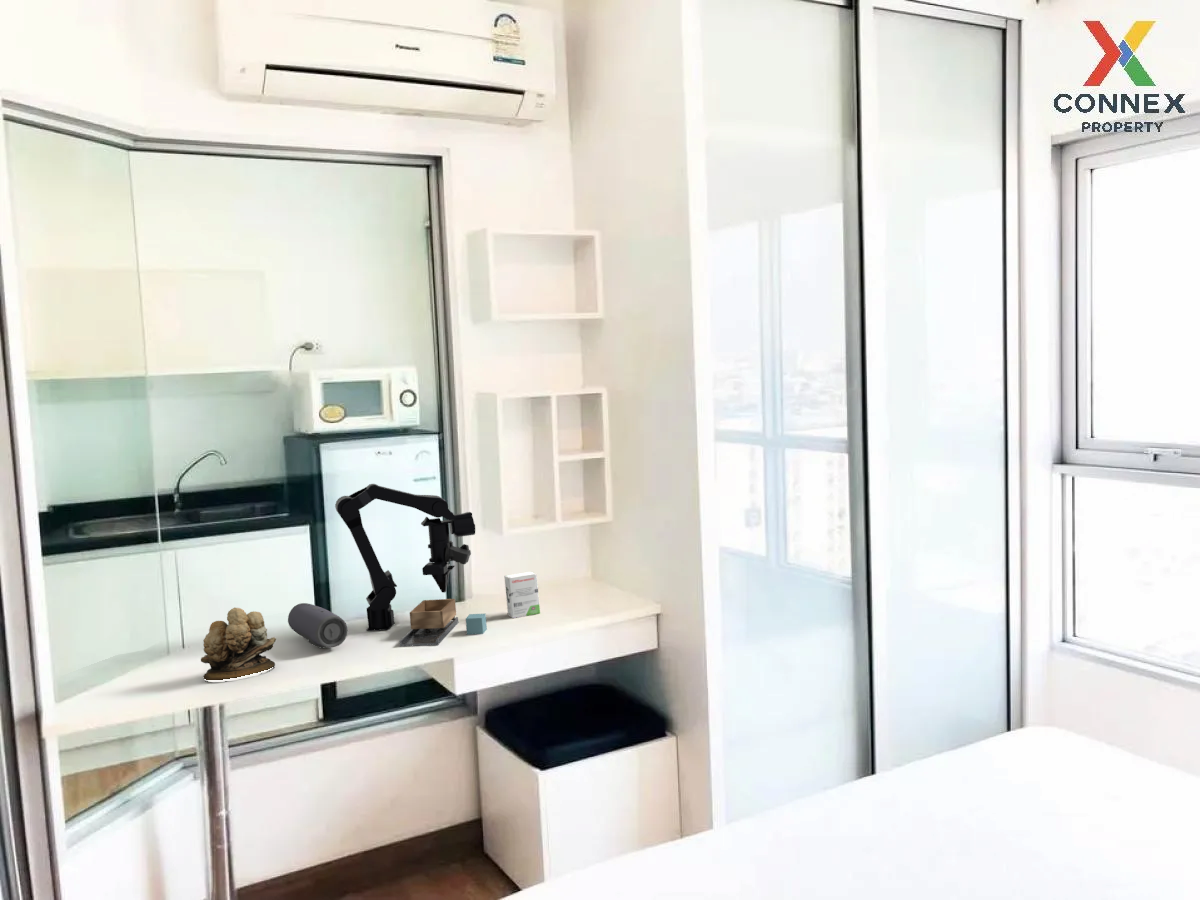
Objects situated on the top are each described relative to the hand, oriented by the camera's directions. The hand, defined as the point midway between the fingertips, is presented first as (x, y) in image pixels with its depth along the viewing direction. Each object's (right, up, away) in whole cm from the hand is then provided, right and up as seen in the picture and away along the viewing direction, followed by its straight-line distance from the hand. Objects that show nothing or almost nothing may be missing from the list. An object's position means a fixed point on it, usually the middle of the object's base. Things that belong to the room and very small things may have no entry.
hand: (444, 592), depth 281 cm
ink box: (+23, -6, -2) cm, 24 cm away
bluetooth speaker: (-31, -12, -17) cm, 38 cm away
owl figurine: (-45, -15, -38) cm, 61 cm away
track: (-1, -9, -16) cm, 18 cm away
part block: (+12, -8, -17) cm, 22 cm away
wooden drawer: (-1, -9, -12) cm, 14 cm away
